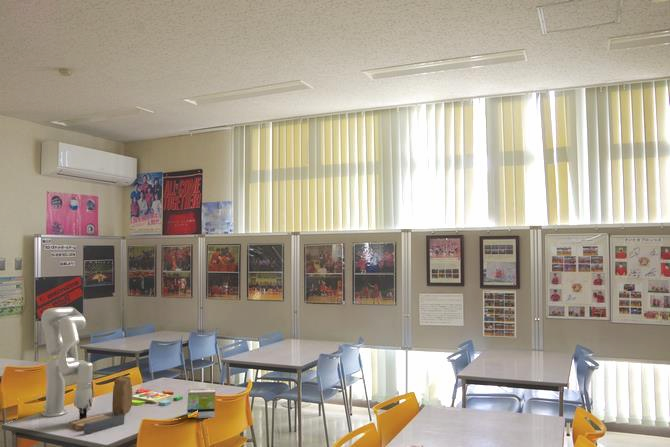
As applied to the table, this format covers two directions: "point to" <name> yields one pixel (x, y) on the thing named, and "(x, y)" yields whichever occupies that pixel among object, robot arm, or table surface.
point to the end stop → (103, 423)
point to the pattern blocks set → (153, 397)
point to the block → (122, 395)
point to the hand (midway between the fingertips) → (82, 419)
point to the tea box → (201, 402)
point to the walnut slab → (85, 421)
